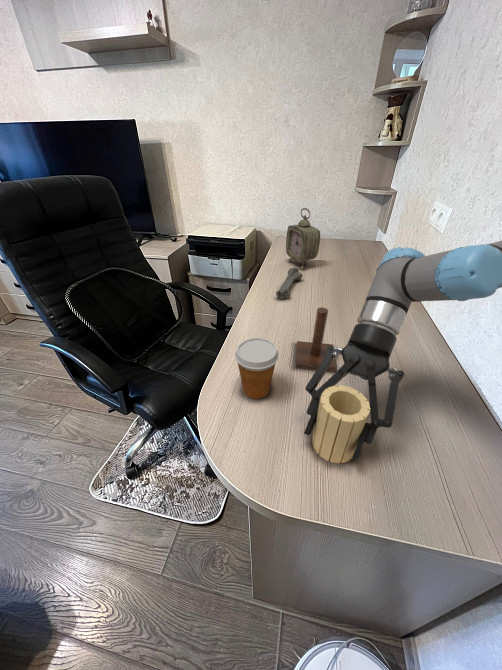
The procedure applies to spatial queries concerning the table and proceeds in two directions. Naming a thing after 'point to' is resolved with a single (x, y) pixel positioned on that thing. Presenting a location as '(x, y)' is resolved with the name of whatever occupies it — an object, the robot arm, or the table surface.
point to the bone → (288, 283)
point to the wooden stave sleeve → (339, 423)
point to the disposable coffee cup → (256, 366)
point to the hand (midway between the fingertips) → (329, 445)
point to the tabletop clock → (302, 241)
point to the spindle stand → (314, 346)
